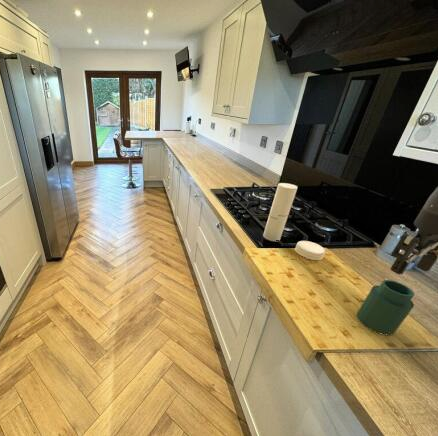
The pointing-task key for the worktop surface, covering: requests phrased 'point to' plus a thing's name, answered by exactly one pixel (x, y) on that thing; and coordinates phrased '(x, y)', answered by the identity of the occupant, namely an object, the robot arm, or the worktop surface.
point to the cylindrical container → (279, 211)
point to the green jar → (386, 307)
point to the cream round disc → (310, 250)
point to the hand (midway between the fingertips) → (409, 270)
